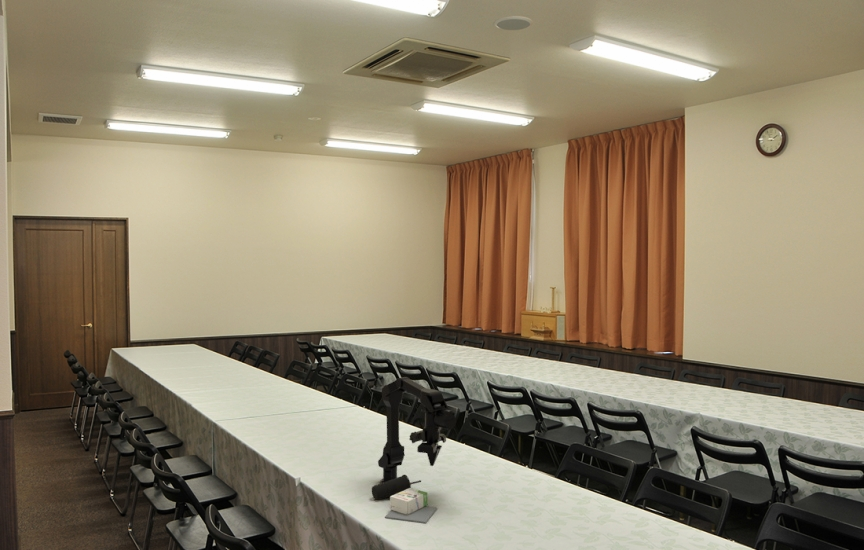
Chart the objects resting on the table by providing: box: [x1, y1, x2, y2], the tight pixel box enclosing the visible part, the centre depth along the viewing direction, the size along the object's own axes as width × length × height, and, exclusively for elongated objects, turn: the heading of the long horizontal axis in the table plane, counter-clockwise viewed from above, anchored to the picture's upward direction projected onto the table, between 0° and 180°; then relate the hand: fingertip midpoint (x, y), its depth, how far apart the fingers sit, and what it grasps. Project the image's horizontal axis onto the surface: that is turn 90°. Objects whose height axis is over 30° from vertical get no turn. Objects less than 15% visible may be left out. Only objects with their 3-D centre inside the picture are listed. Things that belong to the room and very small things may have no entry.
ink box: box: [389, 487, 429, 515], centre depth 230 cm, size 8×5×12 cm
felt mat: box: [384, 505, 438, 524], centre depth 226 cm, size 14×15×1 cm
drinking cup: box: [371, 474, 422, 500], centre depth 245 cm, size 8×8×20 cm
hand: (432, 465), depth 241 cm, fingers closed
